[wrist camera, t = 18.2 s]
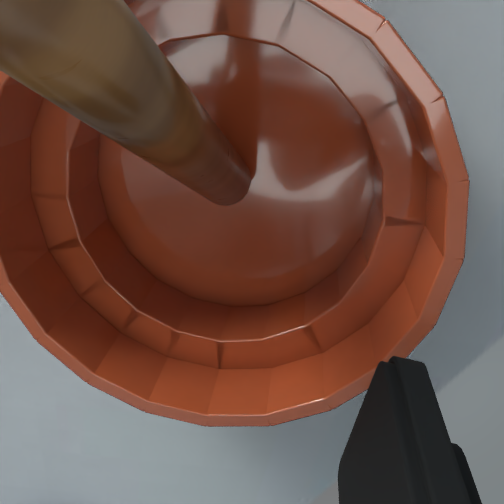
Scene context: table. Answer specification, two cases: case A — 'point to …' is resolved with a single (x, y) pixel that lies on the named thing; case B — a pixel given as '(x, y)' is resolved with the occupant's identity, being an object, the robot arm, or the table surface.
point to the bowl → (242, 219)
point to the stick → (120, 88)
